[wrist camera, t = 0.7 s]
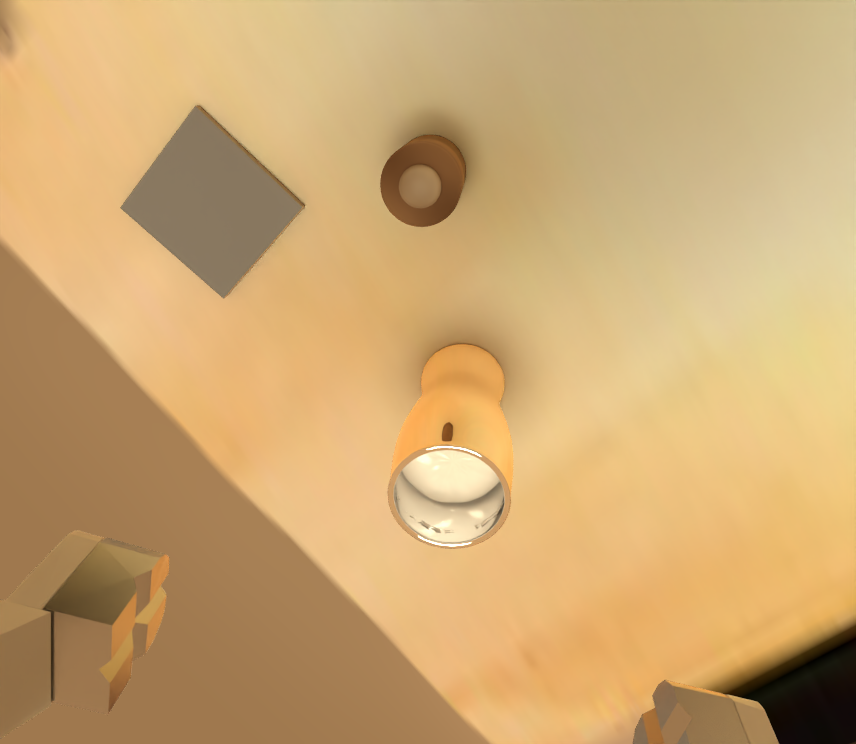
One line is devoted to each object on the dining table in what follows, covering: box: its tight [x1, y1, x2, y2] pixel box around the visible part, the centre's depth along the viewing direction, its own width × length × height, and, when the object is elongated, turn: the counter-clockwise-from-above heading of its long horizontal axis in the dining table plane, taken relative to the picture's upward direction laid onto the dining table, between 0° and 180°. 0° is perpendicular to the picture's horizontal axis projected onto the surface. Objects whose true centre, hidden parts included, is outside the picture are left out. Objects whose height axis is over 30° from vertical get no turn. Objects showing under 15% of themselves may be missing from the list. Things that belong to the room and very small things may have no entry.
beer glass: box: [388, 344, 513, 549], centre depth 42 cm, size 7×7×15 cm
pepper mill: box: [380, 135, 466, 227], centre depth 40 cm, size 5×5×7 cm
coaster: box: [120, 106, 305, 298], centre depth 45 cm, size 9×9×1 cm
